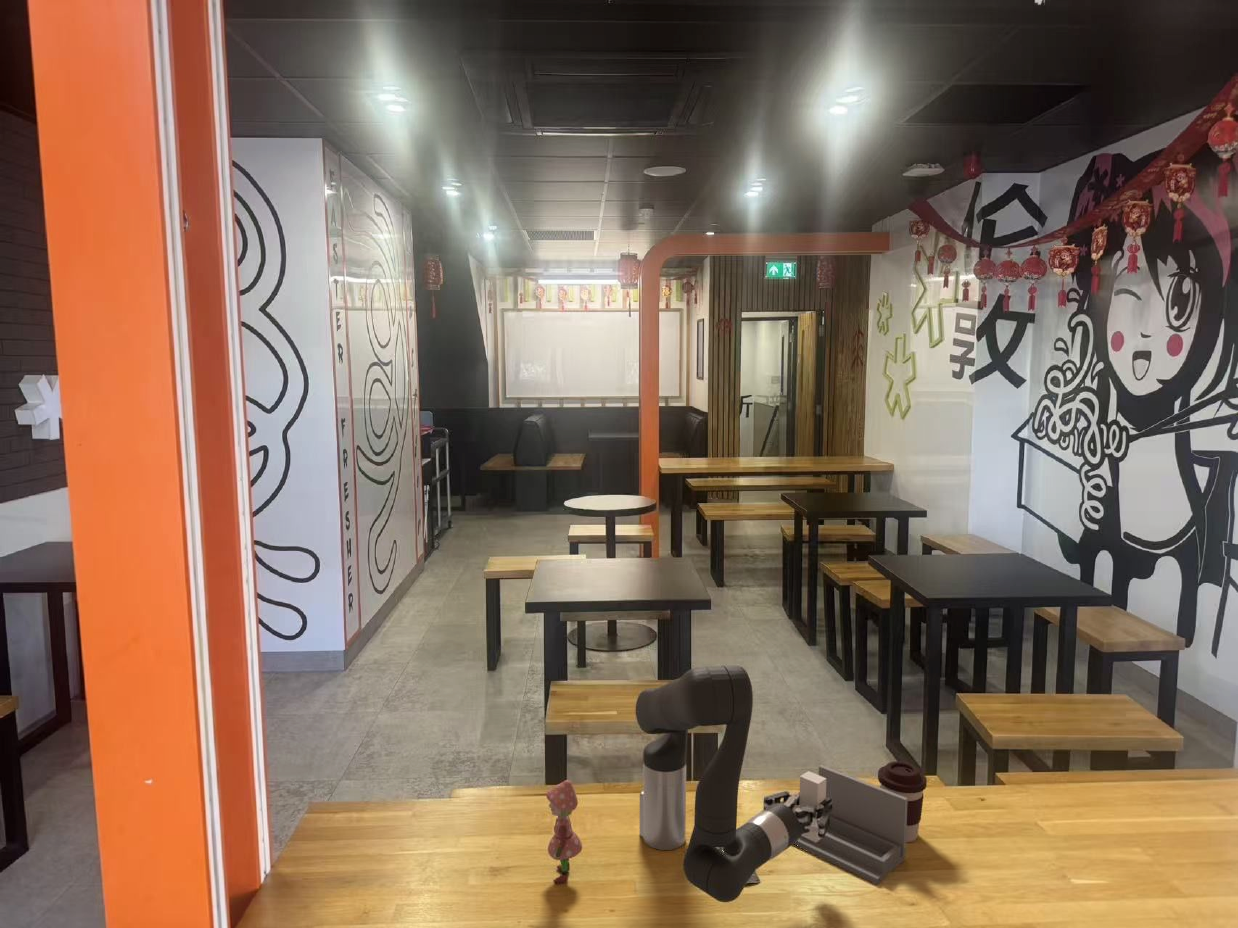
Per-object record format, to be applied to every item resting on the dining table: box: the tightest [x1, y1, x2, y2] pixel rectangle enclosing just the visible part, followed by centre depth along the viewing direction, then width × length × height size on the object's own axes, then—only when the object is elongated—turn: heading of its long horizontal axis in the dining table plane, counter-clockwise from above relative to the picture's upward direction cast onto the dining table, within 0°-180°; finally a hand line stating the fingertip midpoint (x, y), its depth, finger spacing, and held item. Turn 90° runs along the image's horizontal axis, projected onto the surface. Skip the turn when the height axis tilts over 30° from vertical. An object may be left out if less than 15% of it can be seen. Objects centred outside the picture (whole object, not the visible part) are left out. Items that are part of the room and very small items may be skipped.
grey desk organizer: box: [793, 764, 908, 886], centre depth 163 cm, size 20×12×13 cm, turn 45°
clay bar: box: [799, 770, 826, 842], centre depth 153 cm, size 4×3×12 cm
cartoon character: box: [546, 779, 583, 884], centre depth 154 cm, size 10×7×20 cm
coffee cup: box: [877, 761, 928, 843], centre depth 170 cm, size 10×10×15 cm
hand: (819, 797), depth 155 cm, fingers closed on clay bar, 4 cm apart
